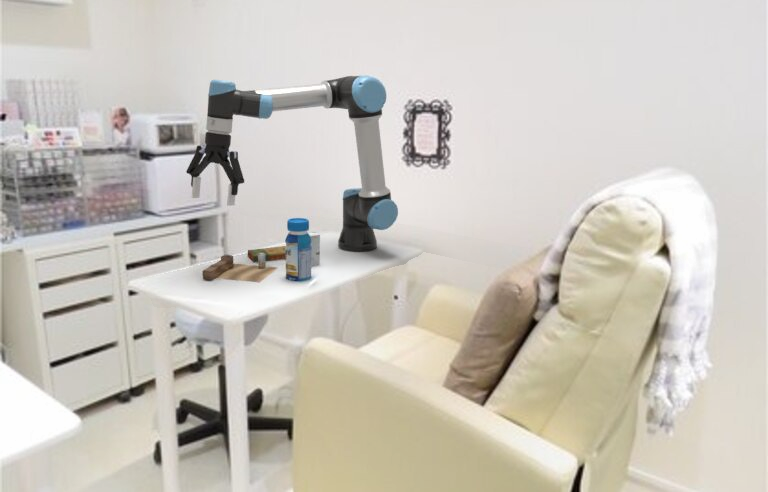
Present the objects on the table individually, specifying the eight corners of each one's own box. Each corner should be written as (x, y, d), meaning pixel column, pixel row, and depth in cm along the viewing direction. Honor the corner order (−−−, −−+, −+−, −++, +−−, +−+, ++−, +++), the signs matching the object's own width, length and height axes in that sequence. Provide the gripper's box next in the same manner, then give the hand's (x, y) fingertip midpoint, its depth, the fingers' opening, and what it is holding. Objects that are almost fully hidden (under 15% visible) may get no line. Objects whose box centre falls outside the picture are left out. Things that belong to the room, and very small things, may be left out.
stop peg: (266, 267, 198) (266, 252, 197) (264, 269, 196) (263, 254, 194) (260, 266, 198) (259, 252, 197) (257, 268, 196) (256, 254, 195)
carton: (297, 262, 210) (297, 250, 209) (253, 267, 203) (253, 255, 202) (290, 256, 217) (290, 244, 216) (247, 260, 210) (247, 249, 209)
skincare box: (304, 271, 199) (304, 236, 196) (298, 267, 202) (298, 233, 199) (320, 268, 202) (320, 234, 199) (314, 265, 206) (314, 231, 202)
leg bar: (224, 264, 198) (224, 252, 197) (235, 265, 198) (235, 253, 196) (201, 279, 183) (200, 266, 182) (213, 280, 182) (212, 267, 181)
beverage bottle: (311, 285, 185) (311, 223, 180) (284, 285, 184) (283, 222, 179) (312, 276, 193) (312, 217, 188) (286, 276, 192) (285, 216, 187)
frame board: (278, 270, 198) (278, 267, 198) (259, 285, 183) (259, 282, 183) (228, 266, 202) (228, 263, 201) (206, 280, 186) (205, 277, 186)
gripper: (177, 126, 180) (172, 195, 184) (245, 137, 171) (238, 209, 175) (194, 128, 187) (189, 194, 191) (260, 138, 178) (253, 207, 182)
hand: (212, 201), depth 183 cm, fingers open, 13 cm apart
